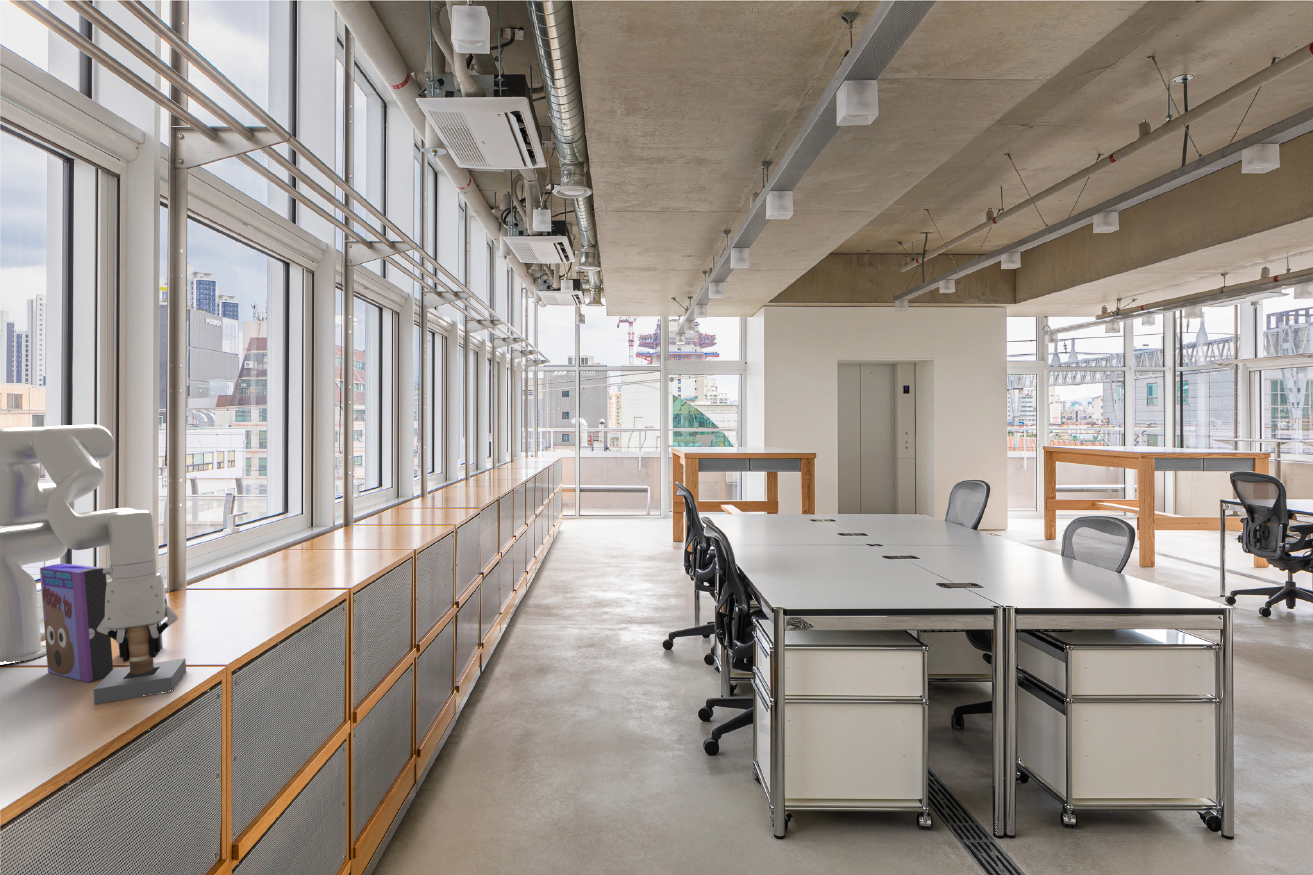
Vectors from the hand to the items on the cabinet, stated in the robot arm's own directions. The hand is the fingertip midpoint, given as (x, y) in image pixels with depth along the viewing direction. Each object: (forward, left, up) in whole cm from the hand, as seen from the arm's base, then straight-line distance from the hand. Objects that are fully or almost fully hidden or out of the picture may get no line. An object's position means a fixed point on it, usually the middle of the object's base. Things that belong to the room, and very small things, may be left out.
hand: (141, 656), depth 151 cm
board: (0, 0, -6) cm, 6 cm away
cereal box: (-18, -16, -7) cm, 25 cm away
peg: (0, 0, -3) cm, 3 cm away
